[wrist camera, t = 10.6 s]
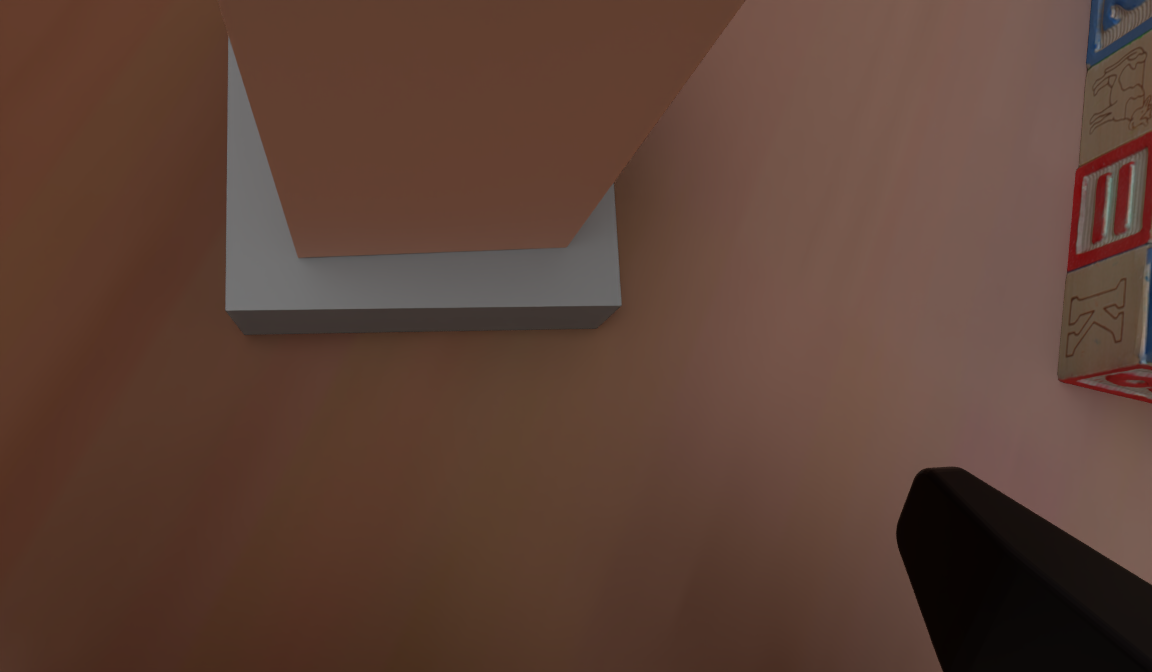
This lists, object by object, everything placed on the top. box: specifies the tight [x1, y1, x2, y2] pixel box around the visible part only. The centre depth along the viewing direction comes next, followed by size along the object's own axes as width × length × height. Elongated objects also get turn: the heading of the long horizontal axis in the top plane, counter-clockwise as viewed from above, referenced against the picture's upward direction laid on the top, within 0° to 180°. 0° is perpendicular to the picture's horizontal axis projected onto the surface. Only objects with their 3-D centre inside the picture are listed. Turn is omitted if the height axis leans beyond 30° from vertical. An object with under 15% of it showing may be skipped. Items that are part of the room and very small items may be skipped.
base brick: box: [226, 39, 622, 335], centre depth 22 cm, size 8×8×3 cm
